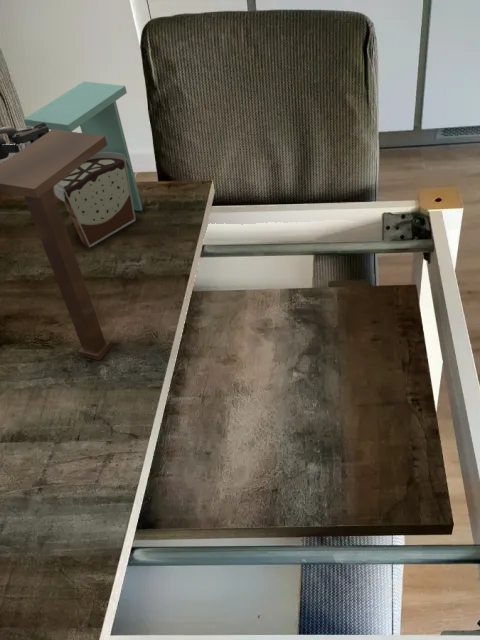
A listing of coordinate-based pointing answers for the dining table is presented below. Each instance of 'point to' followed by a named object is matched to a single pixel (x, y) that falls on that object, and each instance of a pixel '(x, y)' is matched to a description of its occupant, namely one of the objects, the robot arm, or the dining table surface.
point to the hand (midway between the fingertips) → (14, 133)
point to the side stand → (58, 219)
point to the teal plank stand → (90, 119)
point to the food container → (98, 197)
